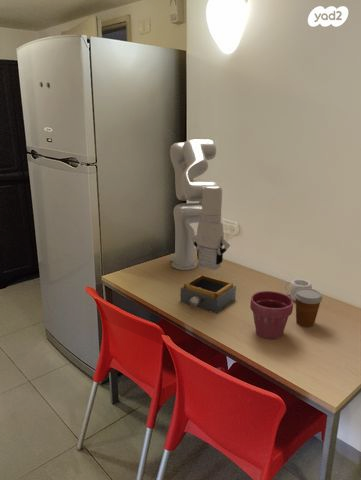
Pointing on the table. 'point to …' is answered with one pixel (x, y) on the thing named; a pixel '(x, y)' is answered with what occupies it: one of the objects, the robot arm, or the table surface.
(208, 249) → the medicine box
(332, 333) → the table surface
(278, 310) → the plant pot
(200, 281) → the box
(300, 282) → the mug
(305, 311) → the disposable coffee cup
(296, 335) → the table surface
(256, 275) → the table surface
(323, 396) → the table surface
